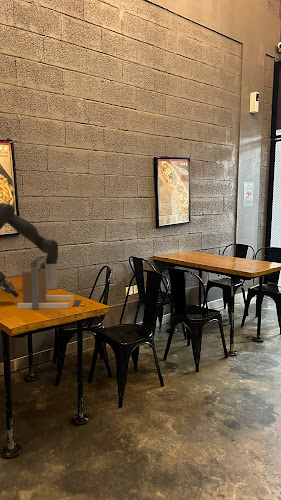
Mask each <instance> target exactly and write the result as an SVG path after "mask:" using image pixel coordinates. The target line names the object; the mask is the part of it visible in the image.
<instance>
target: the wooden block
mask: <svg viewBox="0 0 281 500" xmlns="http://www.w3.org/2000/svg"><path fill="white" fill-rule="evenodd" d="M21 273H22V274H21V277H22V278H21V280H22V281H21V282H22V303H32V283H31V267H30V268H27V269H24V270H22V272H21ZM46 301H47V300H46V287H45V269H40V268H38V303H47V302H46Z"/></svg>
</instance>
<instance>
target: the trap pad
mask: <svg viewBox="0 0 281 500" xmlns="http://www.w3.org/2000/svg"><path fill="white" fill-rule="evenodd" d="M81 303H82V299H75V300H74V302H73V304H72V305H71V307H73V308H74V307H75V308H76V307H78V308H79V307H80V305H81Z"/></svg>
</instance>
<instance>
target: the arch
mask: <svg viewBox="0 0 281 500" xmlns="http://www.w3.org/2000/svg"><path fill="white" fill-rule="evenodd" d="M46 258H47V255H46V256H43V255H42V256H41V255H40V256H39V257H38V258H36V259H34V260H33V261H31V262H30V268H31V283H32V308H31V310H39V309H40V308H39V303H38V269H45V287H46V295H48V292H47V291H48V289H47V284H46ZM38 267H40V268H38Z"/></svg>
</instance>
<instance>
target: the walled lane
mask: <svg viewBox="0 0 281 500" xmlns="http://www.w3.org/2000/svg"><path fill="white" fill-rule="evenodd" d="M46 301H74V295H72V294H70V295H68V294H66V295H61V294H59V295H58V294H57V295H55V294H54V295H50V294H49V295H48V294H47V295H46ZM17 309H32V303H23V302H19V303H17ZM39 309H70V302H44V303H39Z"/></svg>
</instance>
